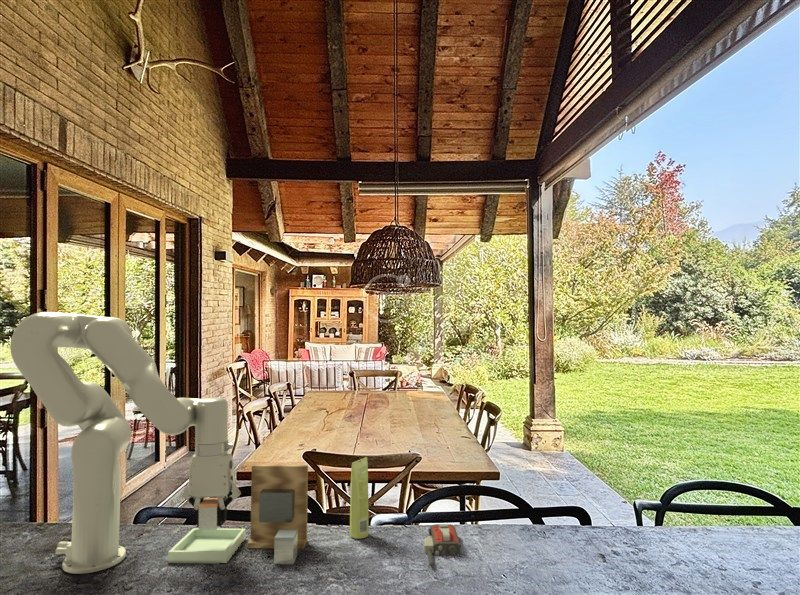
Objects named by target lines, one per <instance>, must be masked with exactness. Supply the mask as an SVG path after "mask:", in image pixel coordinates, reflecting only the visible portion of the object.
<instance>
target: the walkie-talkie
mask: <svg viewBox="0 0 800 595" xmlns="http://www.w3.org/2000/svg"><path fill="white" fill-rule="evenodd" d="M428 534H429V535H428V536H426V537H425V538H424V540H423V542H424V543H423V546H424V548H423V549H424V550H423V551H424V552H423V553H424V554H425V553H427V554H426V555H427V558H428V559H427V560H428V566H430V567H431V568H433V567H434V566H435V564H434V558H433V555H435V554H436V556H440V555H439V554H441V555H450V556H454V555H461V550H462V549H461V546H462V545H461V542H460V539H459V535H458V533H457V530H456V527H455V526H454V525H453V524H451V523H450V524H449V523H448V524H439V523H438V524H432V525H431V526H430V528H429V529H428ZM432 553H434V554H432Z"/></svg>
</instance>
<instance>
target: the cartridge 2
mask: <svg viewBox="0 0 800 595" xmlns="http://www.w3.org/2000/svg"><path fill="white" fill-rule="evenodd" d="M297 540H298V530H279V531H278V533H277V534H276V536H275V537H274V548H273V549H274V550H273V564H274V565H294V563H295V561H296V560H297V557H298V549H297Z"/></svg>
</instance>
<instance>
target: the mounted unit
mask: <svg viewBox="0 0 800 595" xmlns="http://www.w3.org/2000/svg"><path fill="white" fill-rule="evenodd" d="M308 472H309V465H308V464H252V465H251V486H250V488H251V490H250V492H251V493H250V495H251V496H250V538H249V540H248V541H247V543H246V545H247V546H246V547H247V548H246V549H274V537H275V536H276V534H277V533H278V531H279V530H298V540H297V550H300V549H303V550H304V549H305V547H306V545H307V543H308V498H309V497H308V492H309V491H308V488H309V487H308V486H309V485H308V484H309V483H308V482H309V479H308V478H309V476H308V475H309V473H308Z"/></svg>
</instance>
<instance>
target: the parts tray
mask: <svg viewBox="0 0 800 595" xmlns="http://www.w3.org/2000/svg"><path fill="white" fill-rule="evenodd" d="M246 531H247V530H246V528H228V527H227V528H222V527H221V528H220V527H219V528H218V529H217V530H199V527H193V528H192V529H191V530H190V531H189V532H187V534H185V535H184V536H183V537H182V538H181V539H180V540H179V541H178V542H177V543H176V544H175V545H173V547H171V549H169V551H168V552H167V563H168V564H219V563H226V564H227V563H229V561H230V559H231V558H232V557H233V556H234V554H235V553H236V552H237V551H238V549H239V548H240V546H241V545H242V544H243V543H244V541H245V540H246V533H247V532H246ZM242 542H243V543H242ZM241 543H242V544H241ZM238 547H239V548H238ZM235 551H236V552H235ZM232 555H233V556H232Z"/></svg>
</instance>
